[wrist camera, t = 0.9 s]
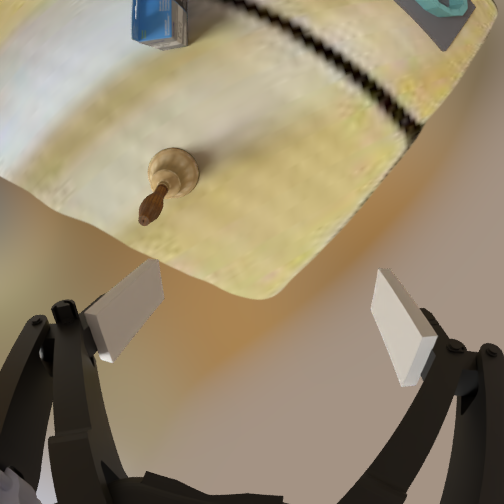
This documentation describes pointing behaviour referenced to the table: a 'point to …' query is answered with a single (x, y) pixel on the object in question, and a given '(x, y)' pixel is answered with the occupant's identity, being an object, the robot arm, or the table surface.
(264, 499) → the robot arm
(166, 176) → the hand bell
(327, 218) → the table surface
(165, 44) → the label tape box
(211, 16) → the table surface
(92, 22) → the table surface
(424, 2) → the cup holder
